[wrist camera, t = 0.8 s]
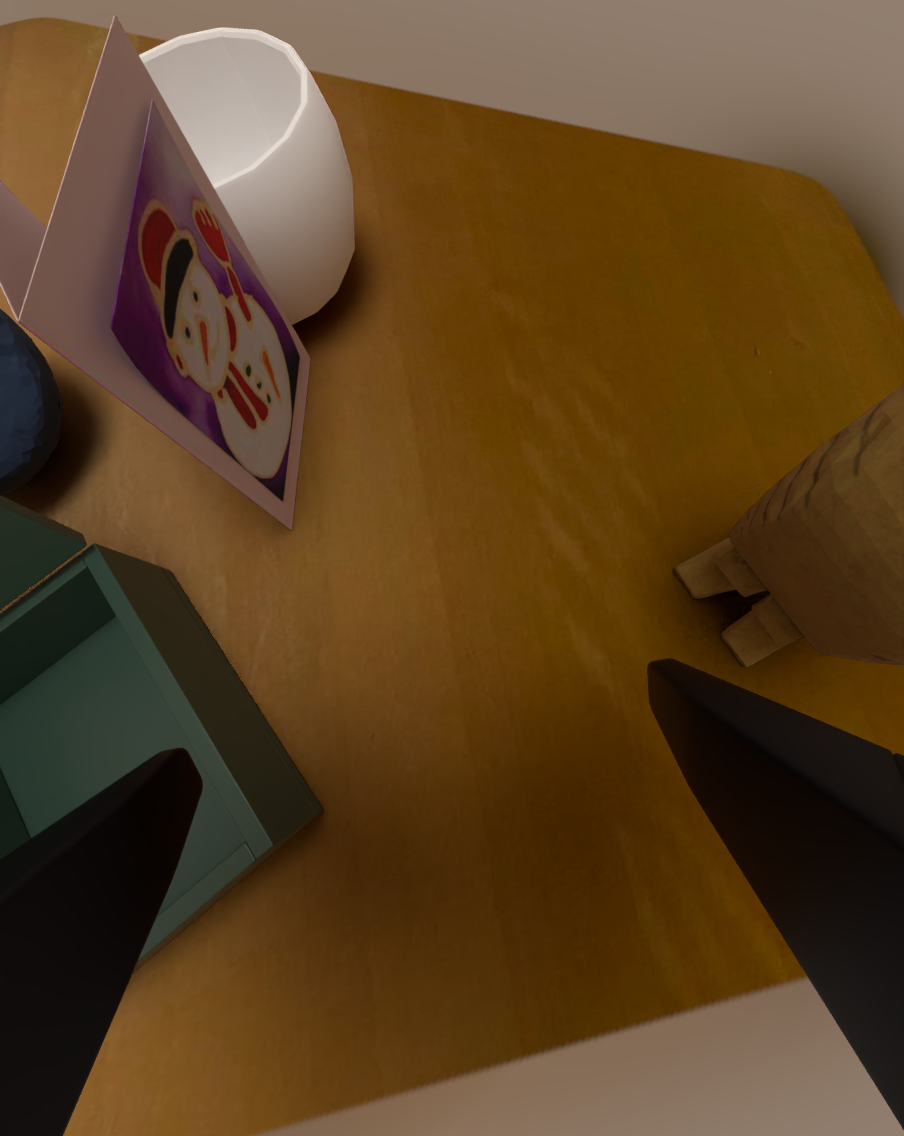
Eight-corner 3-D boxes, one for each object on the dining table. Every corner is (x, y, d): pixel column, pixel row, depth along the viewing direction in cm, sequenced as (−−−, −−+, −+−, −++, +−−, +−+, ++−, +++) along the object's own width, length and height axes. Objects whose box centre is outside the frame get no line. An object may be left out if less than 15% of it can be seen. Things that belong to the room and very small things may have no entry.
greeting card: (306, 530, 25) (51, 319, 11) (182, 532, 26) (-212, 338, 12) (324, 357, 28) (141, 10, 14) (212, 364, 29) (-73, 41, 14)
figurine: (846, 627, 21) (1594, 501, 7) (727, 696, 21) (1237, 717, 6) (749, 508, 23) (1171, 210, 9) (639, 570, 23) (883, 369, 8)
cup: (179, 365, 29) (29, 214, 20) (223, 218, 32) (111, 27, 23) (362, 369, 28) (293, 208, 18) (390, 215, 31) (343, 9, 21)
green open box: (324, 809, 21) (273, 845, 17) (102, 1000, 20) (-22, 1097, 15) (170, 569, 25) (94, 542, 21) (-22, 717, 24) (-151, 724, 19)
